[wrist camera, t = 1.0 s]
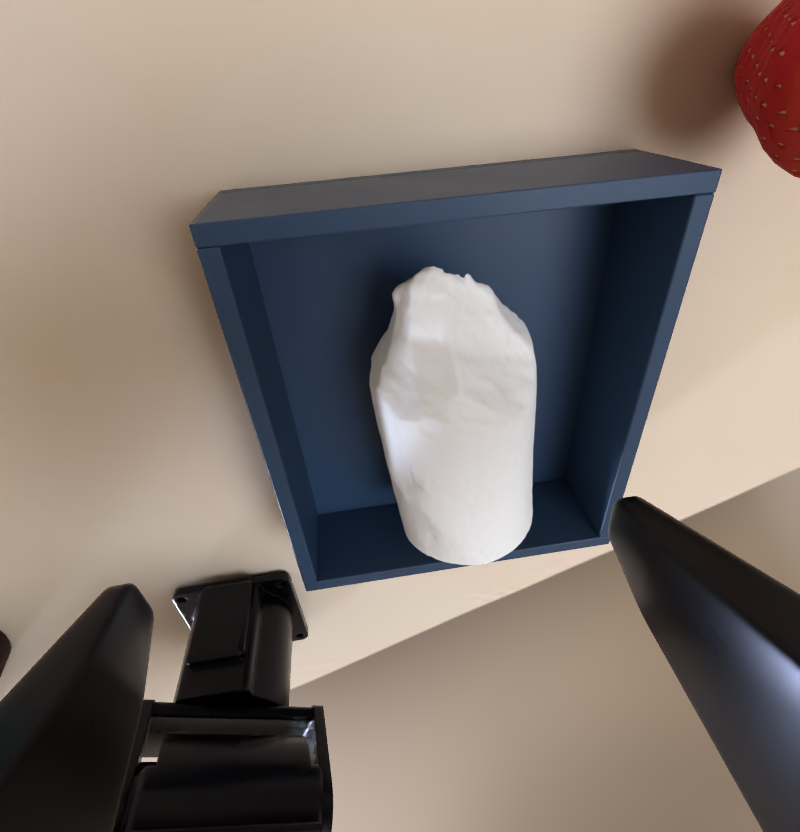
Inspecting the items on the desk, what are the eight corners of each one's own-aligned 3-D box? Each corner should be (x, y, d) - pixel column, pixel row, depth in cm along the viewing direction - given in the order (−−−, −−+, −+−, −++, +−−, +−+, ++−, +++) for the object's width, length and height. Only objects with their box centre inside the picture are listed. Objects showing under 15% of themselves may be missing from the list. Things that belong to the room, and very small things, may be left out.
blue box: (569, 479, 26) (609, 544, 22) (308, 518, 25) (306, 592, 21) (635, 149, 16) (723, 168, 13) (219, 190, 15) (188, 225, 12)
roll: (504, 216, 17) (572, 267, 12) (511, 463, 24) (556, 554, 19) (338, 251, 16) (344, 316, 12) (395, 488, 24) (412, 585, 19)
